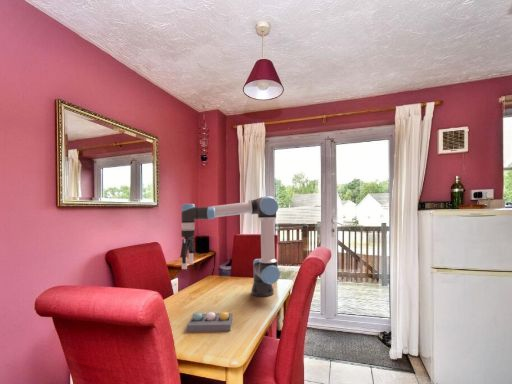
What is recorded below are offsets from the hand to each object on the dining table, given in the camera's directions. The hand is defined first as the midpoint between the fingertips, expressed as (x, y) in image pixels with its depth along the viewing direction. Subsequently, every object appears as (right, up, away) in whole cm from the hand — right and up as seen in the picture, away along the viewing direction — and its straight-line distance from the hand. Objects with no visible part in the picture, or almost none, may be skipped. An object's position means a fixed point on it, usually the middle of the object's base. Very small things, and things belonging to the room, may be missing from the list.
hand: (187, 266), depth 156 cm
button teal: (+11, -19, -25) cm, 33 cm away
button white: (+18, -19, -24) cm, 36 cm away
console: (+18, -22, -25) cm, 37 cm away
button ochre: (+24, -19, -24) cm, 39 cm away
